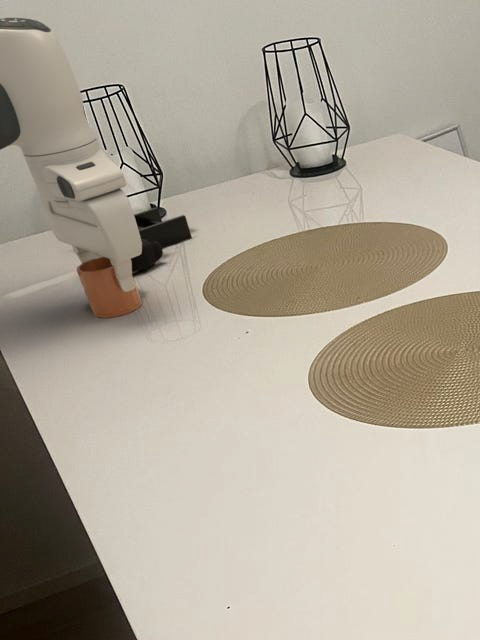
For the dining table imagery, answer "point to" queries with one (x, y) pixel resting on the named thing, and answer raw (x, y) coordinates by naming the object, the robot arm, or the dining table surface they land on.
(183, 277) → the dining table surface
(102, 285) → the pot
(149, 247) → the tape measure
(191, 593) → the dining table surface
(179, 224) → the rack
